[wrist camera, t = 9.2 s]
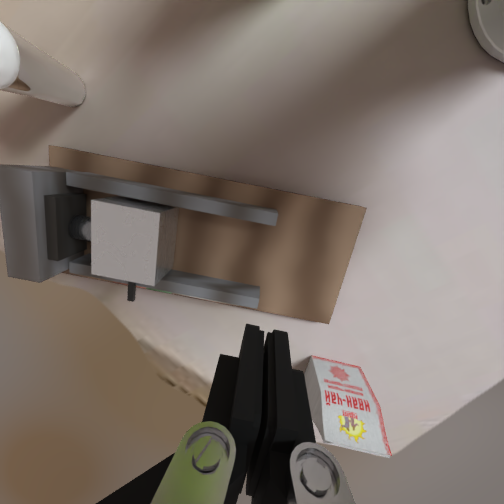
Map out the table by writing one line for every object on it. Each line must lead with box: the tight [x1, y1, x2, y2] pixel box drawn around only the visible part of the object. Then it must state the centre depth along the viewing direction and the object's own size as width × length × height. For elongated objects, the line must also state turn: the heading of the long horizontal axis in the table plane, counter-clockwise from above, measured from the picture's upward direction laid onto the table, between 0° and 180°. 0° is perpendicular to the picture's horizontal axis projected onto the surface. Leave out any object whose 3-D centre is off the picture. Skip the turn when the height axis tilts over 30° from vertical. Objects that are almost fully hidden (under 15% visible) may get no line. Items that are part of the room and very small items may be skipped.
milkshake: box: [0, 21, 86, 107], centre depth 20 cm, size 4×5×10 cm
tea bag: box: [304, 355, 392, 458], centre depth 29 cm, size 4×7×10 cm, turn 76°
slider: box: [69, 196, 179, 301], centre depth 25 cm, size 9×10×5 cm
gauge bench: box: [0, 145, 367, 324], centre depth 25 cm, size 33×14×8 cm, turn 79°
